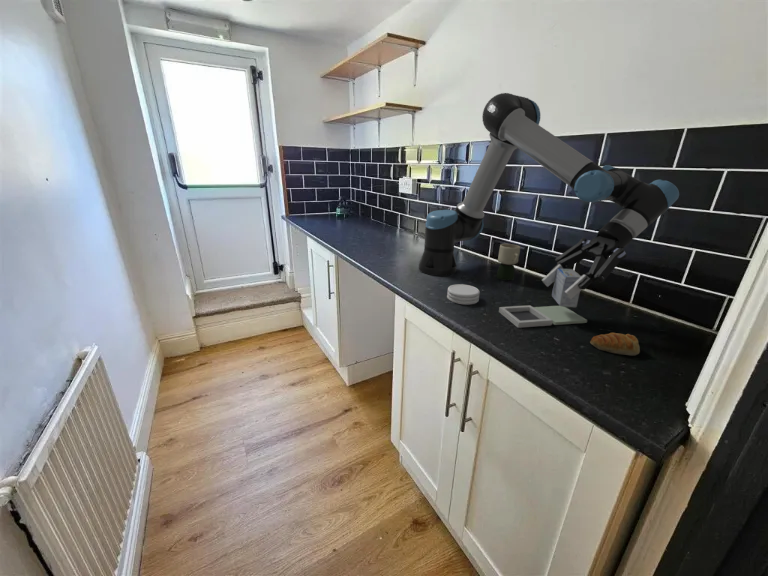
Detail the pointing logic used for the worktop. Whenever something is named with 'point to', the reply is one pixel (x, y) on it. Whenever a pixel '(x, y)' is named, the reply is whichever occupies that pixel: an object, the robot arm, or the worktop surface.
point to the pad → (561, 315)
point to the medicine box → (565, 287)
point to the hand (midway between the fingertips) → (555, 289)
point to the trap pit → (525, 316)
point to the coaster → (463, 294)
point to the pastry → (617, 343)
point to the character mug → (507, 261)
